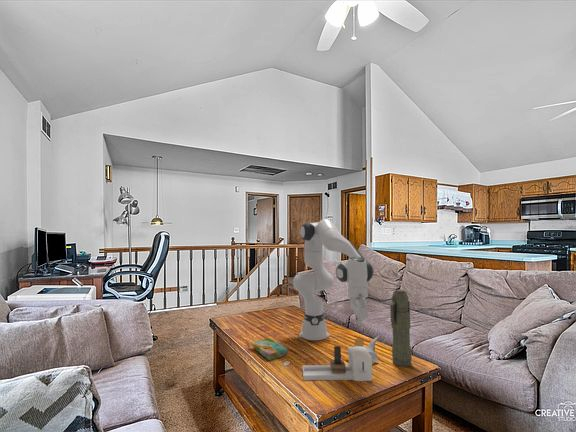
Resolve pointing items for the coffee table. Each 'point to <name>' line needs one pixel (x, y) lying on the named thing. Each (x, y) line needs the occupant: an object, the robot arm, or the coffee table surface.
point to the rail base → (354, 371)
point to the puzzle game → (269, 348)
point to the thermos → (401, 329)
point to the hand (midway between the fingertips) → (358, 322)
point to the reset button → (359, 342)
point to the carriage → (337, 361)
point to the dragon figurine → (371, 349)
